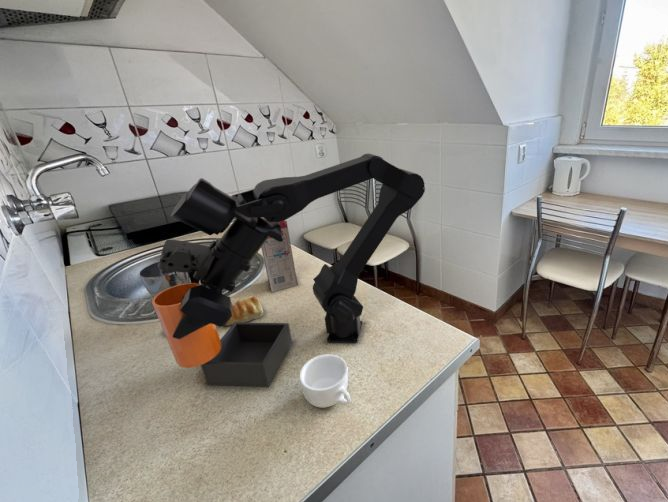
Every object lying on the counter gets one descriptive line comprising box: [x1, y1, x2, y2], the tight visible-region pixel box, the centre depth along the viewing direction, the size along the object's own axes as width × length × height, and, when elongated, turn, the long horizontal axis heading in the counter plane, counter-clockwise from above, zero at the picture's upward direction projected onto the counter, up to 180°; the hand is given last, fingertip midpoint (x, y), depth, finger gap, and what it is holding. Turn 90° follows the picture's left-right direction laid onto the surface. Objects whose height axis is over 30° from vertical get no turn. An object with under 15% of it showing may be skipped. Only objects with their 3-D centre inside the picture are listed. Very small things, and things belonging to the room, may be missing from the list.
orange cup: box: [151, 282, 221, 369], centre depth 53 cm, size 7×7×12 cm
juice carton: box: [260, 217, 298, 293], centre depth 85 cm, size 7×7×22 cm
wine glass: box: [139, 261, 191, 298], centre depth 69 cm, size 8×8×15 cm
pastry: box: [225, 295, 264, 327], centre depth 74 cm, size 9×7×4 cm
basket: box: [200, 321, 293, 388], centre depth 61 cm, size 11×11×5 cm
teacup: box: [299, 353, 352, 408], centre depth 53 cm, size 10×8×5 cm
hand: (178, 324), depth 52 cm, fingers closed on orange cup, 7 cm apart
